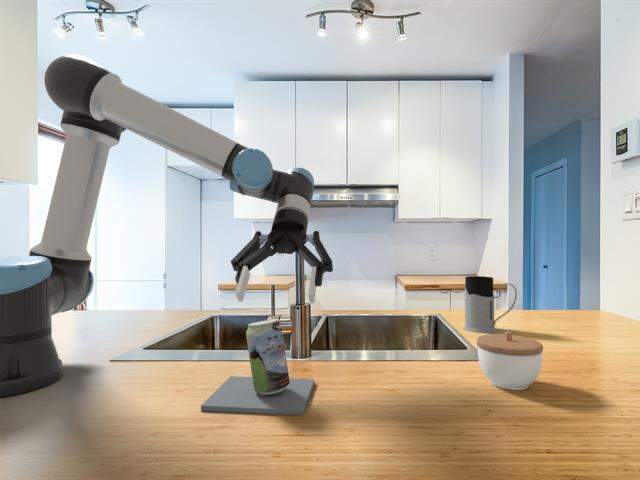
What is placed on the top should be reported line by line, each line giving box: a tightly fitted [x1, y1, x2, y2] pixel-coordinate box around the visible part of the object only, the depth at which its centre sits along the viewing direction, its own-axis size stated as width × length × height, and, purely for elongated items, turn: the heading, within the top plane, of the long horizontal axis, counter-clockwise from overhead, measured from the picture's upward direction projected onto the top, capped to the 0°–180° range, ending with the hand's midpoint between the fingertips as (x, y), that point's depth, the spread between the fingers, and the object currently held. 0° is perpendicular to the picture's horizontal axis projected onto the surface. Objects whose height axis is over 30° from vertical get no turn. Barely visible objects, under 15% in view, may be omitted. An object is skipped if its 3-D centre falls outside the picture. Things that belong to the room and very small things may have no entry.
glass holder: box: [463, 275, 518, 334], centre depth 111 cm, size 9×14×15 cm, turn 54°
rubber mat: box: [200, 375, 316, 417], centre depth 66 cm, size 16×13×1 cm
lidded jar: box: [476, 331, 544, 391], centre depth 70 cm, size 11×11×9 cm
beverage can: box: [245, 318, 290, 395], centre depth 66 cm, size 6×7×12 cm
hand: (274, 298), depth 71 cm, fingers open, 13 cm apart
